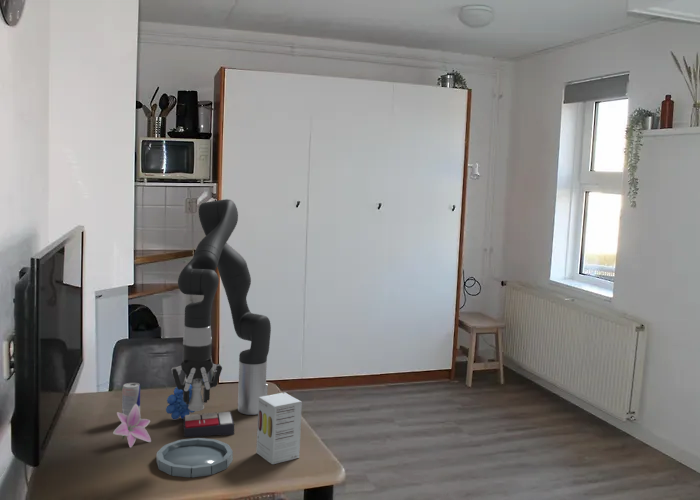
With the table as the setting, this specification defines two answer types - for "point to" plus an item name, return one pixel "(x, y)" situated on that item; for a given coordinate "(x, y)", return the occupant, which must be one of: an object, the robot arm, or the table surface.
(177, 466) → the round tray
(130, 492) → the table surface
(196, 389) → the rook chess piece
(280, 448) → the supplement box
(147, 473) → the table surface
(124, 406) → the energy drink
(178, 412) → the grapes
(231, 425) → the calculator
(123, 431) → the lily
